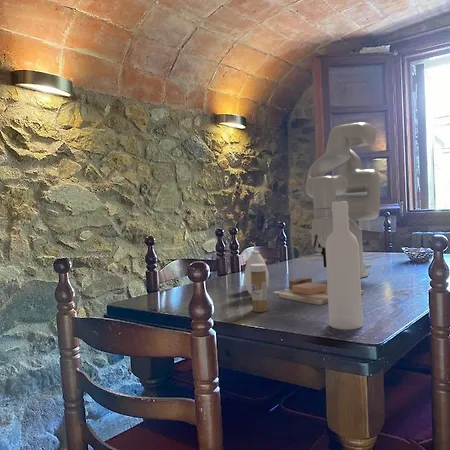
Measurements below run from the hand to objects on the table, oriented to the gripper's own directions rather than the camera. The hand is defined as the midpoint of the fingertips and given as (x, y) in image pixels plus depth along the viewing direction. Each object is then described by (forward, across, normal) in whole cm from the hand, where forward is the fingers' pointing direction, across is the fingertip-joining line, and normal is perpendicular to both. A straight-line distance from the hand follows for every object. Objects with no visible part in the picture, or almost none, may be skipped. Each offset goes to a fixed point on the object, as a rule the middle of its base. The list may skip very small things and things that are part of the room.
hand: (329, 267), depth 153 cm
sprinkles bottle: (+7, +34, +5) cm, 35 cm away
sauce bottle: (+7, +24, -10) cm, 27 cm away
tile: (+5, +6, +1) cm, 8 cm away
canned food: (+8, +16, -20) cm, 27 cm away
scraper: (+8, +8, -10) cm, 15 cm away
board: (+8, +8, +4) cm, 12 cm away
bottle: (+6, +30, +33) cm, 45 cm away
